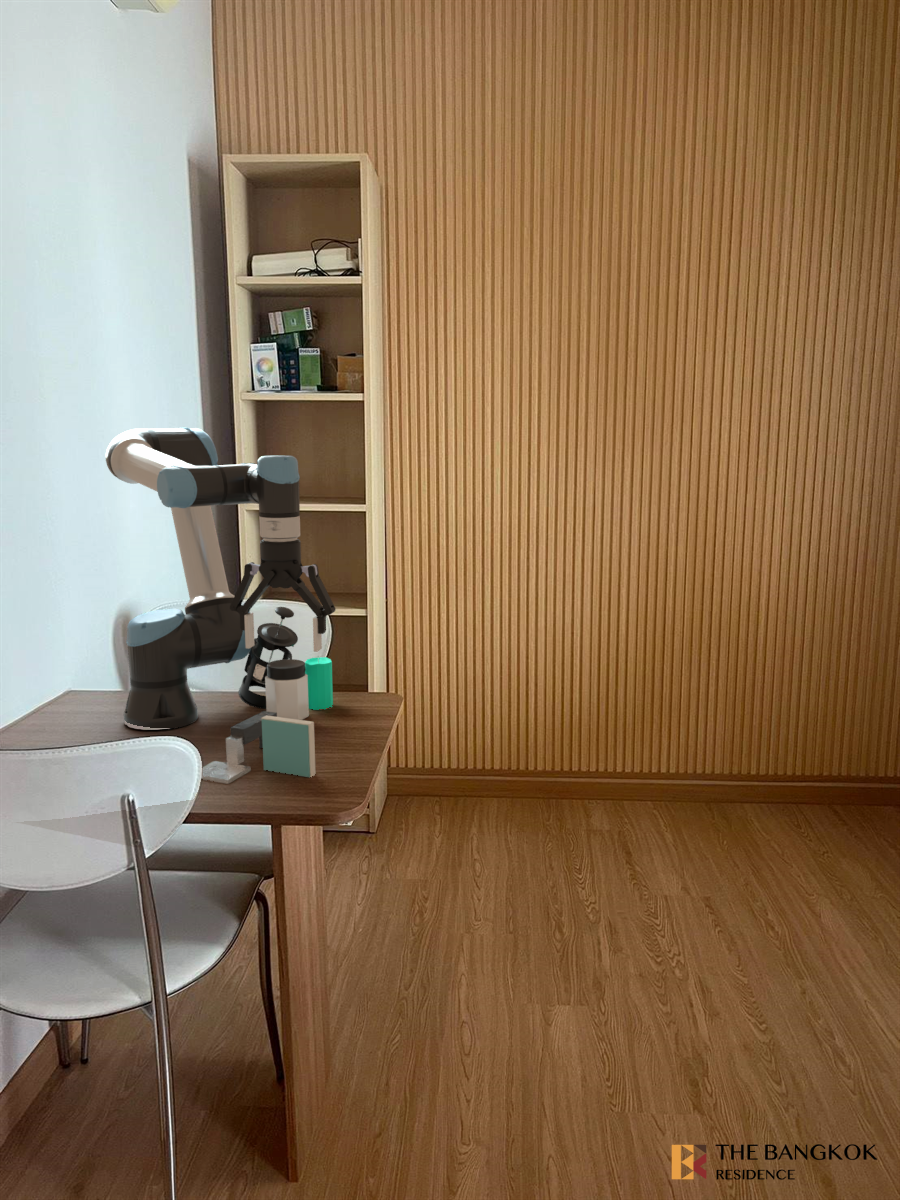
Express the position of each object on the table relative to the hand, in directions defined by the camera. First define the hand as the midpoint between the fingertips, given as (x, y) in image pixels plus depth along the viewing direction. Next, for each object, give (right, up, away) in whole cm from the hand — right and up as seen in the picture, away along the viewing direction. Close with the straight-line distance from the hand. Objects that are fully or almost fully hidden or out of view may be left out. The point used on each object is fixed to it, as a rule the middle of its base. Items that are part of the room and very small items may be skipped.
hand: (283, 648), depth 185 cm
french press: (-11, -12, +32) cm, 36 cm away
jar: (-3, -16, +23) cm, 28 cm away
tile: (+3, -22, -10) cm, 24 cm away
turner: (-7, -21, -4) cm, 23 cm away
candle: (+3, -15, +31) cm, 34 cm away
